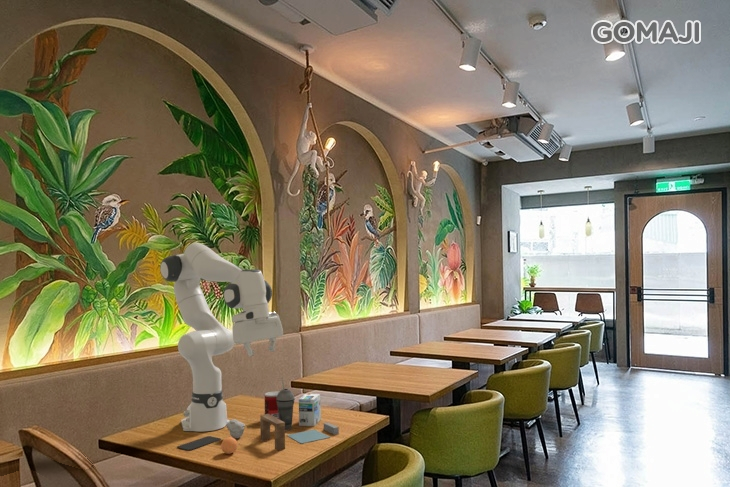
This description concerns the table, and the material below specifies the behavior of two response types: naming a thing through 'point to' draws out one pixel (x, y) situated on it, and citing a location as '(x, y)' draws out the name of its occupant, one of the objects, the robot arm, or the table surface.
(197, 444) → the phone
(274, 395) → the canned food
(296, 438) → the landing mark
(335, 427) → the wall
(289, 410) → the beverage cup
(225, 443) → the ball
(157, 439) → the table surface
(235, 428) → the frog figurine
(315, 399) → the light bulb box
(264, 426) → the bridge
